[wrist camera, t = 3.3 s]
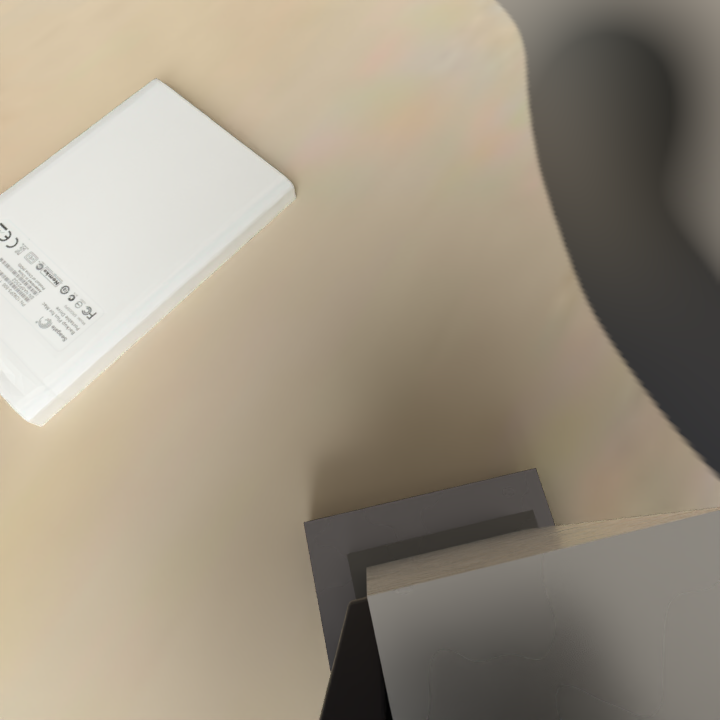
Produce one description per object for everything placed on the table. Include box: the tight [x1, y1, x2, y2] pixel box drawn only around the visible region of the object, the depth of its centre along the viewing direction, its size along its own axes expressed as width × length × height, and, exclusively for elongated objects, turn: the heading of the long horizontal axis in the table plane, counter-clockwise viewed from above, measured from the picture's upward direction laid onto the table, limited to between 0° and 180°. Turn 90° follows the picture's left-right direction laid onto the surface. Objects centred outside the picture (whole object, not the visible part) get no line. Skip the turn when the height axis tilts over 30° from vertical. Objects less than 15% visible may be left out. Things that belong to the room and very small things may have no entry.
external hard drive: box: [0, 78, 296, 426], centre depth 20 cm, size 2×8×12 cm
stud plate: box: [304, 468, 555, 671], centre depth 15 cm, size 7×7×2 cm
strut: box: [347, 507, 720, 720], centre depth 9 cm, size 5×5×10 cm
